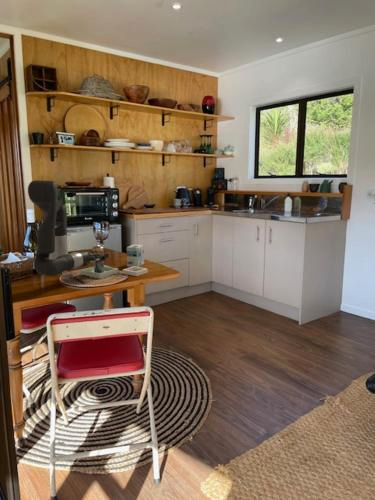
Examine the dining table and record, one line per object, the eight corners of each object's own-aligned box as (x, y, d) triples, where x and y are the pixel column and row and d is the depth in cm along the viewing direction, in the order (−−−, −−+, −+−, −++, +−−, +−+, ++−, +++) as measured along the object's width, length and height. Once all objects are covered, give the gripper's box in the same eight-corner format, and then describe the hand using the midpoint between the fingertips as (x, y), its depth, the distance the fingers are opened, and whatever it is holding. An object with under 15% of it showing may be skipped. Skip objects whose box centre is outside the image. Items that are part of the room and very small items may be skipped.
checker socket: (122, 273, 189) (122, 269, 189) (134, 270, 197) (133, 266, 196) (136, 276, 185) (136, 272, 184) (147, 272, 192) (147, 268, 192)
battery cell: (92, 273, 186) (90, 245, 183) (99, 270, 190) (97, 244, 187) (99, 274, 183) (97, 246, 181) (106, 272, 188) (104, 245, 185)
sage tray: (80, 275, 185) (80, 270, 184) (99, 269, 196) (99, 265, 195) (99, 279, 178) (99, 273, 178) (118, 273, 189) (118, 268, 189)
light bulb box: (138, 267, 202) (138, 247, 200) (126, 266, 203) (126, 247, 201) (144, 263, 212) (144, 244, 210) (133, 262, 214) (133, 243, 212)
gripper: (87, 253, 169) (112, 248, 182) (65, 250, 176) (91, 245, 190) (88, 270, 170) (112, 263, 184) (66, 265, 177) (91, 259, 191)
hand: (101, 254), depth 187 cm, fingers open, 8 cm apart
